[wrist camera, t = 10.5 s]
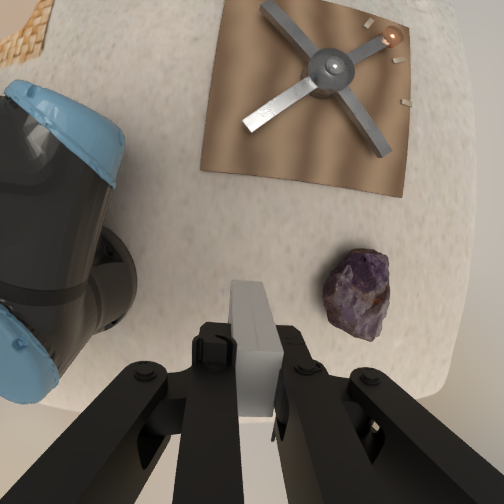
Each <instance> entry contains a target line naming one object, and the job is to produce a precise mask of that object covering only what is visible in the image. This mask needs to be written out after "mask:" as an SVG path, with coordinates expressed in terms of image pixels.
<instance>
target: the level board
mask: <svg viewBox="0 0 504 504" xmlns="http://www.w3.org/2000/svg"><path fill="white" fill-rule="evenodd" d="M266 1H268V0H225V4H224V9H223V15H222V20H221V26H220V31H219V37H218V43H217V49H216V55H215V62H214V68H213V74H212V81H211V88H210V95H209V102H208V110H207V117H206V125H205V133H204V142H203V150H202V159H201V169H200V170H204V171H215V172H226V173H236V174H246V175H255V176H264V177H272V178H281V179H288V180H296V181H303V182H310V183H317V184H324V185H330V186H337V187H343V188H349V189H355V190H361V191H367V192H372V193H378V194H383V195H388V196H394V197H399V198H402V196H403V188H404V180H405V171H406V161H407V150H408V136H409V120H410V107H412V102H411V101H410V89H411V64H410V35H409V28H408V27H406V26H403V25H400V24H398V23H395V22H392V21H390V20H387V19H384V18H381V17H378V16H375V15H372V14H369V13H366V12H363V11H360V10H356V9H353V8H349V7H346V6H342V5H338V4H334V3H330V2H326V1H322V0H273V1H274V2H275V3H276V4H277V5H278V6H279V7H280V8H281V9H282V10H283V11H284V12H285V13H286V14H287V15H288V16H289V17H290V18H291V19H292V20H293V21H294V22H295V23H296V25H297V26H298V27H299V28H300V29H301V30H302V31H303V32H304V33H305V34H306V35H307V37H308V38H309V39H310V40H311V41H312V42H313V43H314V44H315V46H316V47H317V48H318V49H319V50H320V49H323V48H335V49H338V50H340V51H342V52H344V53H345V54H347V53H348V52H350V51H352V50H354V49H356V48H357V47H359V46H361V45H363V44H365V43H367V42H369V41H370V40H372V39H374V38H376V37H378V34H379V33H380V32H382V31H383V30H384V29H385V28H386V27H388V26H395V27H397V28H398V29H400V30H401V32H402V33H403V36H404V39H403V41H402V42H401V43H400V44H398V45H397V46H395V47H394V48H392V49H387V48H385V49H383V50H381V51H379V52H377V53H376V54H374V55H372V56H370V57H369V58H367V59H365V60H363V61H362V62H360V63H358V64H357V65H355V66H354V68H355V76H354V79H353V81H352V82H351V83H350V84H349V85H348V86H349V87H350V89H351V90H352V91H353V93H354V94H355V96H356V97H357V98H358V100H359V101H360V102H361V104H362V105H363V107H364V108H365V109H366V111H367V112H368V114H369V115H370V117H371V118H372V120H373V121H374V122H375V124H376V125H377V127H378V128H379V130H380V131H381V133H382V135H383V136H384V138H385V139H386V141H387V142H388V144H389V145H390V147H391V149H392V150H393V151H391V152H390V153H389V154H387V155H386V156H385V157H384V158H377V157H376V155H375V154H374V152H373V151H372V149H371V148H370V146H369V145H368V143H367V142H366V140H365V139H364V137H363V136H362V134H361V133H360V131H359V130H358V128H357V127H356V125H355V124H354V123H353V121H352V120H351V118H350V117H349V116H348V114H347V113H346V111H345V110H344V109H343V107H342V106H341V105H340V103H339V102H338V101H337V99H336V98H335V97H334V96H333V97H331V98H329V99H324V100H321V99H316V98H313V97H311V96H310V95H307V96H305V97H304V98H302V99H301V100H299V101H298V102H296V103H295V104H293V105H292V106H290V107H289V108H287V109H286V110H284V111H283V112H281V113H280V114H279V115H277V116H276V117H274V118H273V119H271V120H270V121H269V122H267V123H266V124H264V125H263V126H262V127H260V128H259V129H257V130H256V131H255V132H253V133H252V134H250V133H249V132H248V130H247V129H246V128H245V127H244V125H243V124H242V120H244V119H245V118H247V117H248V116H249V115H251V114H252V113H254V112H255V111H257V110H258V109H259V108H261V107H262V106H264V105H265V104H267V103H268V102H270V101H271V100H273V99H274V98H275V97H277V96H278V95H280V94H281V93H283V92H285V91H286V90H288V89H289V88H291V87H292V86H294V85H295V84H297V83H298V82H300V76H301V73H302V71H303V69H304V68H305V66H306V65H307V64H308V63H307V62H306V61H305V59H304V58H303V57H302V56H301V55H300V54H299V52H298V51H297V50H296V49H295V48H294V47H293V46H292V45H291V43H290V42H289V41H288V40H287V39H286V38H285V37H284V36H283V35H282V34H281V33H280V31H279V30H278V29H277V28H276V27H275V26H274V25H273V24H272V23H271V22H270V21H269V20H268V19H267V18H266V17H265V16H264V15H263V14H262V13H261V12H260V11H259V9H260V4H262V3H264V2H266Z"/></svg>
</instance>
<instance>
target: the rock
mask: <svg viewBox="0 0 504 504" xmlns="http://www.w3.org/2000/svg"><path fill="white" fill-rule="evenodd" d="M388 267H389V261H388V257H387V256H386V255H383V254H382V253H378V252H377V251H375V250H374V249H354V250H352V251H351V253H350V254H349V255H348V256H347V257H346V258H344V260H343V261H342V262H341V263H340V264H339V266H338V267H337V269H336V271H335V270H332V271H331V273H330V276H329V278H328V279H327V281H326V283H325V284H324V286H323V300H324V306H325V309H326V311H327V317H328V321H329V322H330V323H331V324H332V325H333V326H335V327H337V328H340V329H342V330H344V331H345V332H347V333H348V334H350V335H352V336H353V337H356V338H361V339H364V340H367V341H369V342H372V341H373V340H374V339H375V337H378V336H379V335H380V332H381V330H382V320H383V319H384V318H385V317H386V315H387V310H388V307H389V303H390V302H389V298H390V287H389V270H388Z"/></svg>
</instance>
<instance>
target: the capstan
mask: <svg viewBox="0 0 504 504" xmlns="http://www.w3.org/2000/svg"><path fill="white" fill-rule="evenodd" d="M259 11H260V12H261V13H262V14H263V15H264V16H265V17H266V18H267V19H268V20H269V21H270V22H271V23H272V24H273V25H274V26H275V27H276V28H277V29H278V30H279V31H280V33H281V34H282V35H283V36H284V37H285V38H286V39H287V40H288V41H289V42H290V43H291V45H292V46H293V47H294V48H295V49H296V50H297V51H298V52H299V54H300V55H301V56H302V57H303V58H304V59H305V61H306V62H307V63H308V64H307V65H306V66H305V68H304V69H303V71H302V73H301V76H300V82H298V83H297V84H295V85H294V86H292V87H291V88H289V89H288V90H286V91H285V92H283V93H281V94H280V95H278V96H277V97H275V98H274V99H273V100H271V101H270V102H268V103H267V104H265V105H264V106H262V107H261V108H259V109H258V110H257V111H255V112H254V113H252V114H251V115H249V116H248V117H247V118H245V119H244V120H242V124H243V125H244V127H245V128H246V129H247V130H248V132H249V133H250V134H252V133H253V132H255V131H256V130H257V129H259V128H260V127H262V126H263V125H264V124H266V123H267V122H269V121H270V120H271V119H273V118H274V117H276V116H277V115H279V114H280V113H281V112H283V111H284V110H286V109H287V108H289V107H290V106H292V105H293V104H295V103H296V102H298V101H299V100H301V99H302V98H304V97H305V96H307V95H310V96H311V97H313V98H316V99H321V100H324V99H329V98H331V97H333V96H334V97H335V98H336V99H337V101H338V102H339V103H340V105H341V106H342V107H343V109H344V110H345V111H346V113H347V114H348V116H349V117H350V118H351V120H352V121H353V123H354V124H355V125H356V127H357V128H358V130H359V131H360V133H361V134H362V136H363V137H364V139H365V140H366V142H367V143H368V145H369V146H370V148H371V149H372V151H373V152H374V154H375V155H376V157H377V158H384V157H385V156H386V155H387V154H389V153H390V152H391V151H393V150H392V149H391V147H390V145H389V144H388V142H387V141H386V139H385V138H384V136H383V135H382V133H381V131H380V130H379V128H378V127H377V125H376V124H375V122H374V121H373V120H372V118H371V117H370V115H369V114H368V112H367V111H366V109H365V108H364V107H363V105H362V104H361V102H360V101H359V100H358V98H357V97H356V96H355V94H354V93H353V91H352V90H351V89H350V87H349V86H348V85H349V84H350V83H351V82H352V81H353V79H354V76H355V68H354V66H355V65H357V64H358V63H360V62H362V61H363V60H365V59H367V58H369V57H370V56H372V55H374V54H376V53H377V52H379V51H381V50H383V49H385V48H387V49H392V48H394V47H395V46H397V45H398V44H400V43H401V42H402V41H403V39H404V36H403V33H402V32H401V30H400V29H398V28H397V27H395V26H388V27H386V28H385V29H384V30H383V31H382V32H380V33H379V34H378V37H376V38H374V39H372V40H370V41H369V42H367V43H365V44H363V45H361V46H359V47H357V48H356V49H354V50H352V51H350V52H348V53H347V54H345V53H344V52H342V51H340V50H338V49H335V48H323V49H320V50H319V49H318V48H317V47H316V46H315V44H314V43H313V42H312V41H311V40H310V39H309V38H308V37H307V35H306V34H305V33H304V32H303V31H302V30H301V29H300V28H299V27H298V26H297V25H296V23H295V22H294V21H293V20H292V19H291V18H290V17H289V16H288V15H287V14H286V13H285V12H284V11H283V10H282V9H281V8H280V7H279V6H278V5H277V4H276V3H275V2H274V1H273V0H268V1H266V2H264V3H262V4H260V9H259Z"/></svg>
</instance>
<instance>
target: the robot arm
mask: <svg viewBox="0 0 504 504" xmlns="http://www.w3.org/2000/svg"><path fill="white" fill-rule="evenodd" d="M4 94H5V96H0V396H1V397H3V398H5V399H7V400H9V401H11V402H15V403H18V404H34V403H37V402H39V401H41V400H42V399H43V398H44V397H45V396H46V395H47V394H48V393H49V392H50V391H51V390H52V389H53V388H55V387H56V386H57V385H58V382H59V379H60V378H61V377H62V375H63V374H64V373H65V371H66V370H67V368H68V367H69V366H70V364H71V363H72V362H73V360H74V359H75V358H76V356H77V355H78V354H79V352H80V351H81V350H82V348H83V347H84V346H85V344H86V343H87V342H88V340H89V339H90V338H91V336H92V335H94V334H97V333H100V332H102V331H105V330H108V329H110V328H112V327H113V326H115V325H116V324H118V323H119V322H120V321H121V320H122V319H123V318H124V316H125V315H126V313H127V312H128V311H129V309H130V308H131V306H132V304H133V302H134V299H135V295H136V290H137V275H136V270H135V266H134V262H133V260H132V257H131V255H130V253H129V251H128V250H127V248H126V247H125V245H124V244H123V242H122V241H121V240H120V239H119V238H118V237H117V236H116V235H115V234H114V233H112V232H111V231H110V230H108V229H107V228H105V227H103V226H102V225H103V221H104V218H105V215H106V211H107V208H108V205H109V202H110V198H111V195H112V192H113V189H116V186H117V185H116V177H117V174H118V170H119V167H120V164H121V160H122V157H123V154H124V151H125V138H124V135H123V133H122V131H121V130H120V128H119V127H118V126H117V125H116V124H114V123H113V122H112V121H110V120H109V119H107V118H106V117H104V116H102V115H101V114H99V113H97V112H95V111H94V110H92V109H90V108H88V107H86V106H84V105H82V104H80V103H78V102H76V101H74V100H72V99H70V98H68V97H66V96H64V95H61V94H59V93H57V92H54V91H52V90H49V89H47V88H42V87H40V86H37V85H34V84H32V83H30V82H27V81H24V80H14V81H13V82H11V83H10V85H9V86H8V87H7V88H5V91H4ZM274 407H275V412H276V418H275V423H274V428H273V433H272V438H271V441H272V442H273V441H274V440H275V437H276V440H277V445H278V451H279V456H280V461H281V467H282V472H283V478H284V483H285V488H286V493H287V499H288V503H289V504H504V475H503V474H502V473H500V472H499V471H498V470H497V469H496V468H494V467H493V466H492V465H491V464H490V463H489V462H487V461H486V460H485V459H484V458H483V457H481V456H480V455H479V454H478V453H477V452H476V451H474V450H473V449H472V448H471V447H469V445H467V444H466V443H465V442H464V441H463V440H462V439H460V438H459V437H458V436H457V435H456V434H455V433H453V432H452V431H451V430H450V429H449V428H448V427H446V426H445V425H444V424H443V423H442V422H441V421H439V420H438V419H437V418H436V417H435V416H434V415H432V414H431V413H430V412H428V410H427V409H425V408H424V407H423V406H422V405H421V404H420V403H418V402H417V401H416V400H415V399H414V398H413V397H411V396H410V395H409V394H408V393H407V392H406V391H404V390H403V389H402V388H401V387H400V386H399V385H397V384H396V383H395V382H394V381H393V380H392V379H390V378H389V377H388V376H387V375H386V374H384V373H383V372H381V371H379V370H377V369H374V368H369V367H363V368H357V369H355V370H353V371H352V372H351V374H350V378H343V377H336V376H332V375H329V374H328V372H327V370H326V368H325V367H324V366H323V364H321V363H319V362H318V361H316V360H313V359H312V357H311V355H310V353H309V350H308V348H307V346H306V345H305V341H304V339H303V337H302V335H301V332H300V331H299V330H298V329H296V328H295V327H294V326H287V325H275V322H274V319H273V316H272V312H271V309H270V306H269V303H268V300H267V296H266V293H265V290H264V287H263V283H262V282H254V281H239V280H231V292H230V304H229V317H228V323H215V322H206V323H205V324H203V325H202V326H201V327H200V332H199V335H198V336H196V337H194V339H193V341H192V366H191V367H190V368H188V369H186V370H184V371H180V372H175V373H167V371H166V369H165V368H164V367H163V366H162V365H160V364H158V363H155V362H151V361H138V362H134V363H131V364H129V365H128V366H127V367H125V368H124V369H123V370H122V371H121V372H120V373H119V374H118V376H117V377H116V378H115V379H114V380H113V381H112V382H111V383H110V384H109V385H108V386H107V387H106V388H105V389H104V390H103V391H102V392H101V393H100V394H99V395H98V396H97V397H96V398H95V399H94V401H93V402H92V403H91V404H90V405H89V406H88V407H87V408H86V409H85V410H84V411H83V412H82V413H81V414H80V415H79V416H78V417H77V419H75V420H74V422H73V423H72V424H71V425H70V426H69V427H68V428H67V429H66V430H65V431H64V432H63V433H62V434H61V435H60V436H59V437H58V438H57V439H56V441H54V443H53V444H52V445H51V446H50V447H49V448H48V449H47V450H46V451H45V452H44V453H43V454H42V455H41V456H40V457H39V458H38V460H37V461H36V462H35V463H34V464H33V465H32V466H31V467H30V468H29V469H28V470H27V471H26V472H25V473H24V475H23V476H22V477H21V478H20V479H19V480H18V481H17V482H16V483H15V484H14V485H13V486H12V487H11V489H10V490H9V491H8V492H7V493H6V494H5V495H4V496H3V497H2V498H1V499H0V504H134V503H135V501H136V499H137V498H138V496H139V494H140V492H141V491H142V489H143V487H144V485H145V483H146V482H147V480H148V478H149V476H150V475H151V473H152V471H153V469H154V468H155V466H156V464H157V462H158V460H159V459H160V457H161V455H162V453H163V452H164V450H165V448H166V446H167V444H168V443H169V441H170V438H171V435H174V434H181V438H180V446H179V454H178V460H177V468H176V476H175V484H174V493H173V501H172V504H244V494H243V481H242V467H241V453H240V438H239V421H238V416H243V417H272V416H273V410H274ZM374 421H375V422H376V423H377V424H378V425H379V427H380V428H379V430H378V431H376V430H375V429H374V428H373V427H372V425H373V423H374Z"/></svg>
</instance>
